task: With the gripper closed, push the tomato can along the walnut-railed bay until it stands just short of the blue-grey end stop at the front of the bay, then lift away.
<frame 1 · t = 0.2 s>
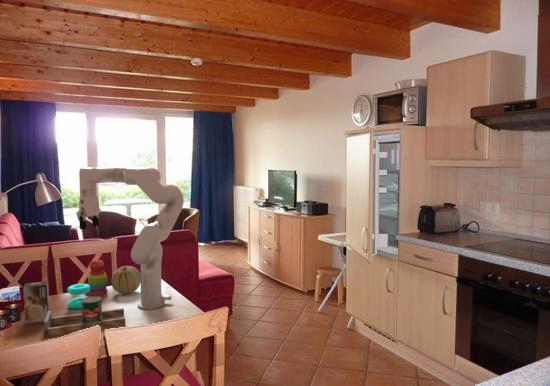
hand: (89, 227, 201), 37 cm above the table, tool pointing down, fingers open, 9 cm apart
cantaloupe: (126, 293, 215), on the table
coffee box: (37, 320, 178), on the table
donuts: (79, 306, 195), on the table
canned tomato: (92, 324, 173), resting in bay
stacking bear: (97, 293, 215), on the table
bay: (86, 325, 172), on the table
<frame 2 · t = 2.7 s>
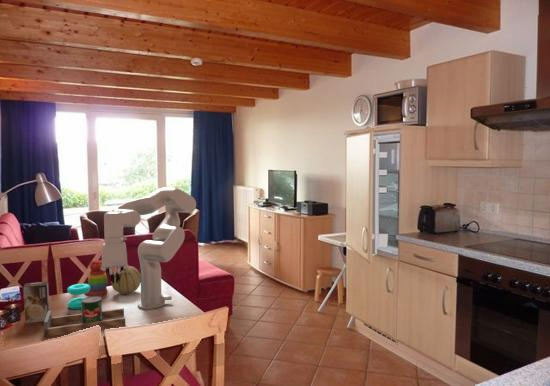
hand: (115, 282, 176), 17 cm above the table, tool pointing down, fingers closed
nothing on the table moved.
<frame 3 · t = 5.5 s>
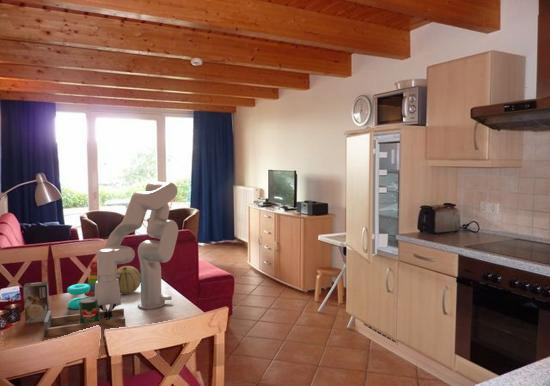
hand: (108, 319, 175), 1 cm above the table, tool pointing down, fingers closed
canned tomato: (90, 325, 173), resting in bay, touching gripper
everything else where it was.
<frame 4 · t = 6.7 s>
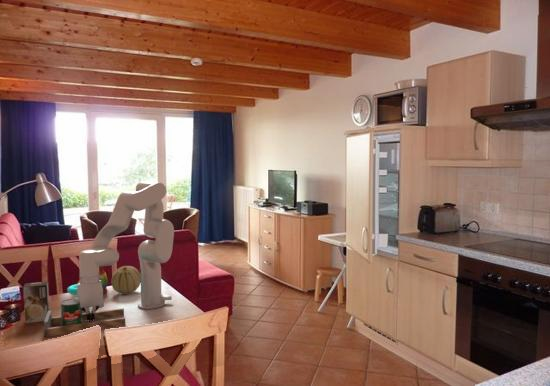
hand: (90, 321, 173), 1 cm above the table, tool pointing down, fingers closed
canned tomato: (72, 327, 170), resting in bay, touching gripper
everything else where it was.
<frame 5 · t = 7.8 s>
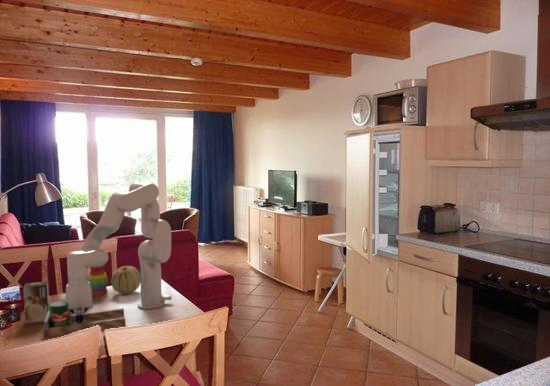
hand: (79, 323, 171), 1 cm above the table, tool pointing down, fingers closed
canned tomato: (60, 329, 168), resting in bay, touching gripper
everything else where it was.
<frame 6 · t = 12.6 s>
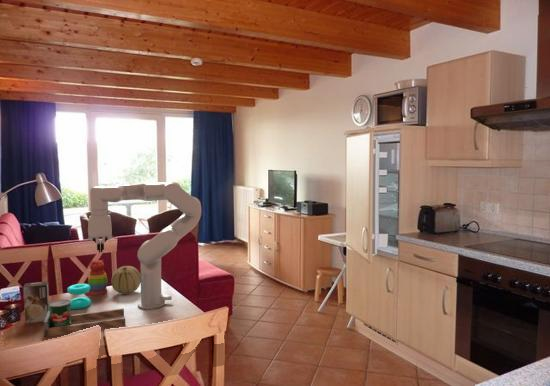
hand: (100, 251, 191), 27 cm above the table, tool pointing down, fingers closed
canned tomato: (60, 329, 168), resting in bay
everything else where it was.
at the end: canned tomato inside the target area (0.1 cm from its centre), resting in bay; canned tomato tilted 0° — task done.
